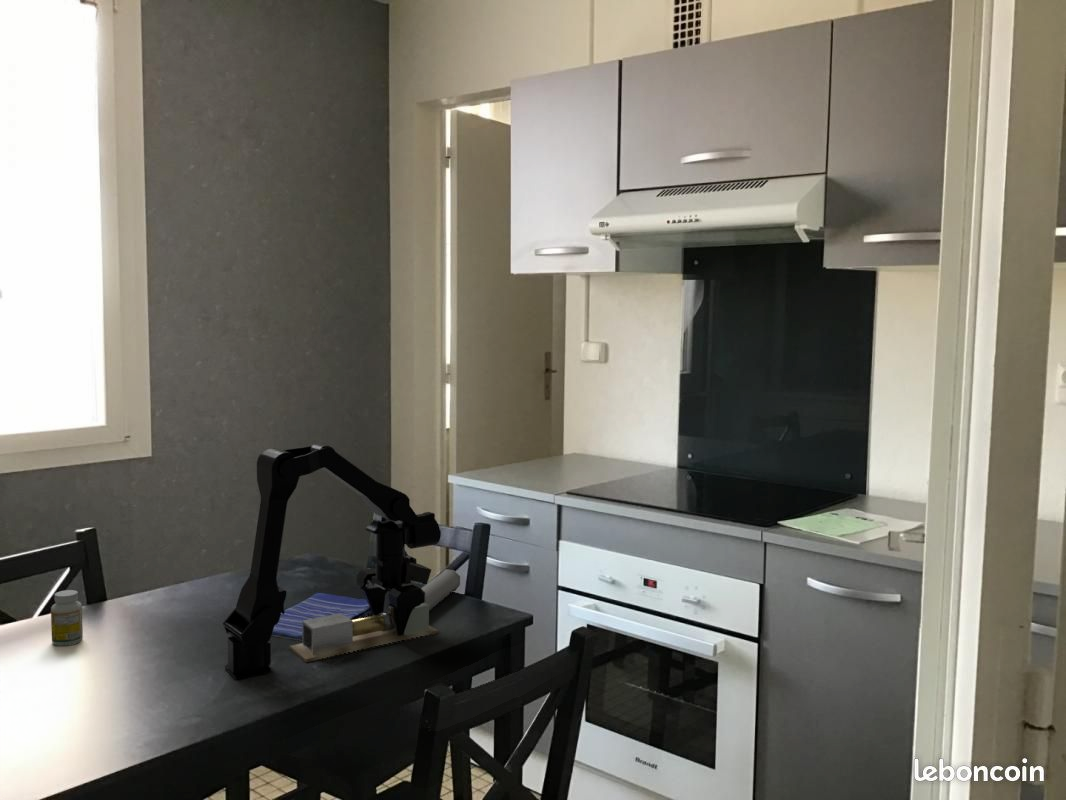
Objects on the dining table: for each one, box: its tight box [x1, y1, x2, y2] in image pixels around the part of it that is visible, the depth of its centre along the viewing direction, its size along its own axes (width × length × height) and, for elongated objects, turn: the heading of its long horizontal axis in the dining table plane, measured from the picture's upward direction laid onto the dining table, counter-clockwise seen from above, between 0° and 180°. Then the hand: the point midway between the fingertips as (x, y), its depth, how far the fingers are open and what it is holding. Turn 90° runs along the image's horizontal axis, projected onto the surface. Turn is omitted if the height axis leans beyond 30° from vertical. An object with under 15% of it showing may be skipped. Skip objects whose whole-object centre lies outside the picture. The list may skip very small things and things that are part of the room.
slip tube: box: [352, 610, 395, 637], centre depth 177 cm, size 16×4×4 cm, turn 126°
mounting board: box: [289, 625, 439, 663], centre depth 177 cm, size 28×8×1 cm, turn 126°
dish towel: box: [271, 592, 372, 642], centre depth 188 cm, size 17×24×3 cm
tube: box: [420, 568, 461, 612], centre depth 198 cm, size 5×5×25 cm
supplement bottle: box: [50, 589, 84, 647], centre depth 173 cm, size 5×5×10 cm
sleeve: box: [301, 613, 353, 655], centre depth 172 cm, size 8×5×5 cm, turn 126°
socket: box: [395, 603, 430, 636], centre depth 182 cm, size 6×6×5 cm
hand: (389, 628), depth 180 cm, fingers open, 9 cm apart
